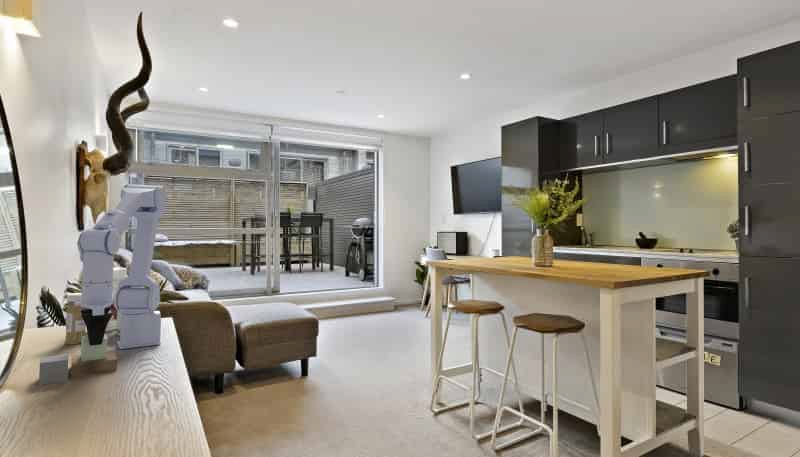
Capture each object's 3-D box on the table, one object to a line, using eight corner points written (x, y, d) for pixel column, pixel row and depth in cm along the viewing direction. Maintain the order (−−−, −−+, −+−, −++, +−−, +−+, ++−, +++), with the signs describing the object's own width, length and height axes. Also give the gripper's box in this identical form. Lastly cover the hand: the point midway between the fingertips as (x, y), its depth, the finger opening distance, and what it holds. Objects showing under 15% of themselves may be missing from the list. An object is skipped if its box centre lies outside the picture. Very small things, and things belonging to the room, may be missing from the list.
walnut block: (113, 362, 101) (114, 350, 101) (116, 372, 95) (117, 359, 95) (71, 368, 96) (71, 355, 96) (71, 379, 90) (72, 364, 90)
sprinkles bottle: (85, 343, 115) (87, 294, 115) (63, 345, 113) (65, 295, 113) (86, 339, 119) (88, 292, 119) (65, 341, 116) (67, 292, 117)
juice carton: (84, 331, 128) (86, 268, 128) (107, 325, 137) (110, 266, 137) (105, 333, 127) (108, 269, 127) (128, 327, 135) (131, 267, 136)
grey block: (67, 375, 91) (68, 354, 91) (67, 381, 88) (68, 359, 88) (40, 378, 89) (40, 357, 89) (38, 385, 85) (39, 363, 85)
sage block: (105, 353, 99) (105, 334, 99) (106, 358, 95) (107, 338, 95) (80, 356, 96) (81, 336, 96) (81, 361, 93) (82, 340, 93)
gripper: (74, 279, 99) (72, 337, 99) (76, 286, 88) (73, 352, 88) (111, 278, 104) (108, 333, 103) (116, 285, 92) (114, 347, 92)
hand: (95, 341), depth 96 cm, fingers open, 5 cm apart
